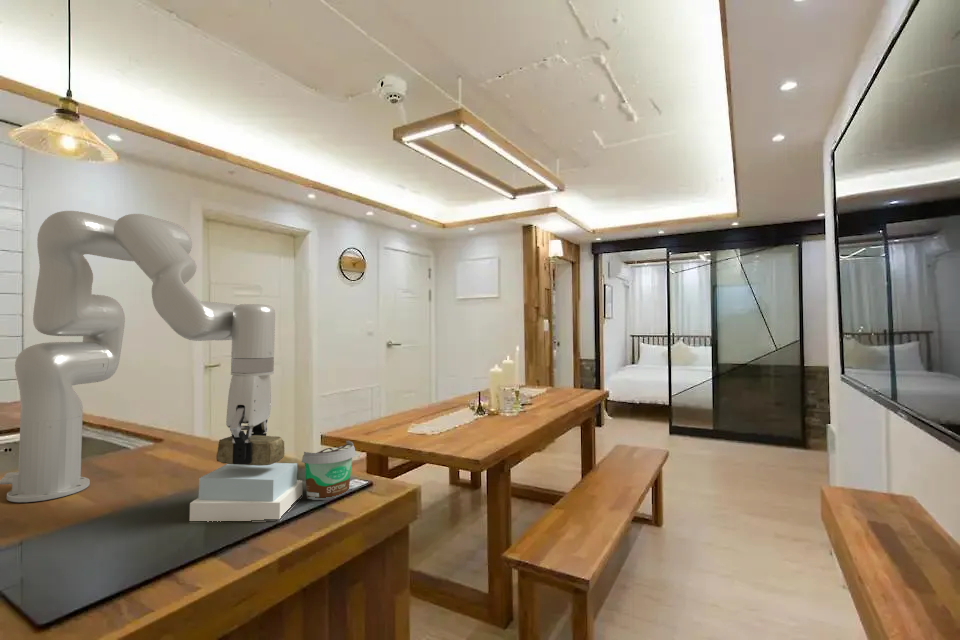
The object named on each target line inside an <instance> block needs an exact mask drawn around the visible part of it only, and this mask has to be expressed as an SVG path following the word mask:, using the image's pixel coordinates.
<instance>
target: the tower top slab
mask: <svg viewBox="0 0 960 640" xmlns="http://www.w3.org/2000/svg"><path fill="white" fill-rule="evenodd" d="M297 480H298V463H295V462H294V463H290V462H289V463H288V462H287V463H286V462H275V463H273V464H271V465H262V466H258V465H238V464H227V463H225V464H224V465H222V466H220V467H218V468H216V469H214V470H213V471H210V472H209V473H206V474H204V475H202V476H200V477H199V478H198V498H199V500H229V501H269V502H273V501H274V500H276V499H277V498H278V497H279V496H281V495H282V494H283V493H285V492H286V491H287V490H288V489H290V488H291V487H292V486H293V485H295V484H296V483H297Z"/></svg>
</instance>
